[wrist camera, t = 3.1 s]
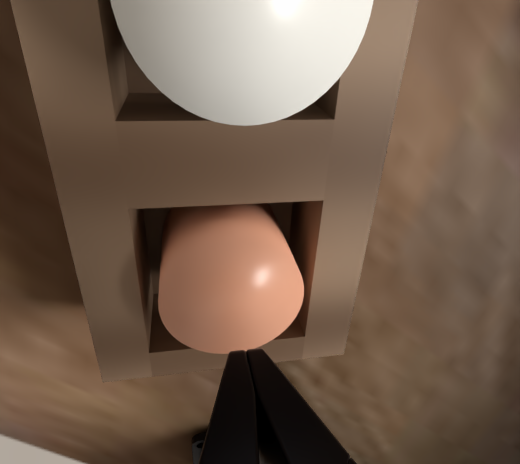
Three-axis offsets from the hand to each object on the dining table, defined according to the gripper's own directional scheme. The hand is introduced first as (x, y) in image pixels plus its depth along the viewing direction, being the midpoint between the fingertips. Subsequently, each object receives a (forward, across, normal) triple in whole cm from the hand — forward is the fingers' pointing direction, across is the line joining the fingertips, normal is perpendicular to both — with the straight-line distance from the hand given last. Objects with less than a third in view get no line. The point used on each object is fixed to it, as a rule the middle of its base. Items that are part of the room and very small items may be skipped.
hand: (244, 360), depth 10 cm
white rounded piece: (+5, 0, -8) cm, 9 cm away
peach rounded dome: (+6, 0, 0) cm, 6 cm away
